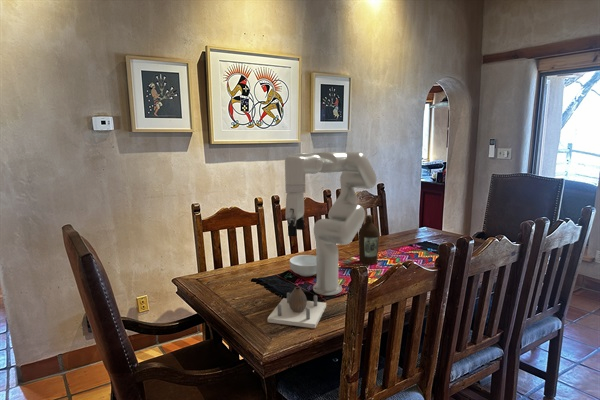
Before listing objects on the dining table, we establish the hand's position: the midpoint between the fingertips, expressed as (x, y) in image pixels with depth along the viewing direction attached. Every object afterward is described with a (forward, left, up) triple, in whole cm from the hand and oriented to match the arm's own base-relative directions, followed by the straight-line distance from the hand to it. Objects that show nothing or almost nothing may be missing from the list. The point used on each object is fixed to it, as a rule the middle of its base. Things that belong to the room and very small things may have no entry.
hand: (296, 232), depth 151 cm
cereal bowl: (-36, -6, -31) cm, 48 cm away
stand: (+6, +2, -30) cm, 31 cm away
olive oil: (-60, +21, -31) cm, 71 cm away
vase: (+6, +2, -29) cm, 30 cm away
